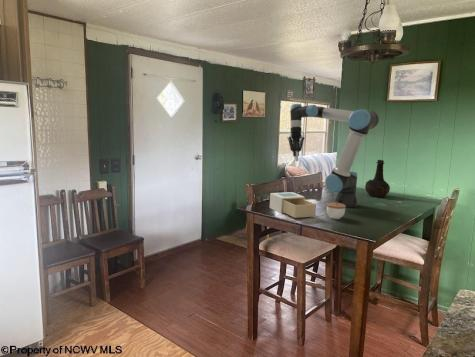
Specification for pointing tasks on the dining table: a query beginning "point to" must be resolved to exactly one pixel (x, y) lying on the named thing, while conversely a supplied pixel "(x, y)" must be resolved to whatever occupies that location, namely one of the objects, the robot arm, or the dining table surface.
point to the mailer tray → (298, 208)
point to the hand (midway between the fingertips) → (296, 161)
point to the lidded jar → (335, 210)
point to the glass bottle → (378, 183)
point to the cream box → (281, 199)
